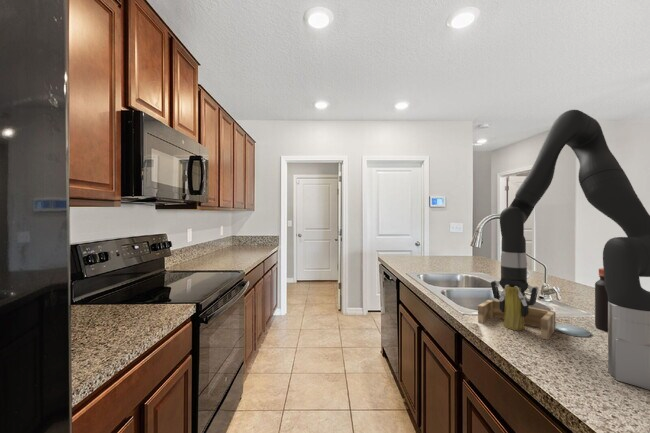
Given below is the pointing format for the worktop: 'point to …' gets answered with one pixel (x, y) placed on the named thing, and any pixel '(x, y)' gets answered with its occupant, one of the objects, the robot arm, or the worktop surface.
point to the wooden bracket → (534, 318)
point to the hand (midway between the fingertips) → (513, 313)
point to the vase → (513, 309)
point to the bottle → (601, 303)
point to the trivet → (572, 330)
